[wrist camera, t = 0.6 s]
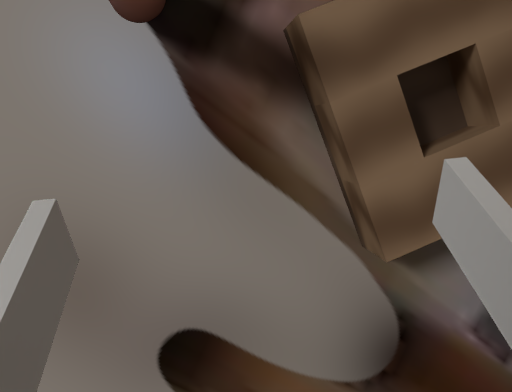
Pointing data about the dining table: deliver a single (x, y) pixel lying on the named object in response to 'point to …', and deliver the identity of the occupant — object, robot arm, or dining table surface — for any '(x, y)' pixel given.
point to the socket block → (407, 104)
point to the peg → (138, 9)
